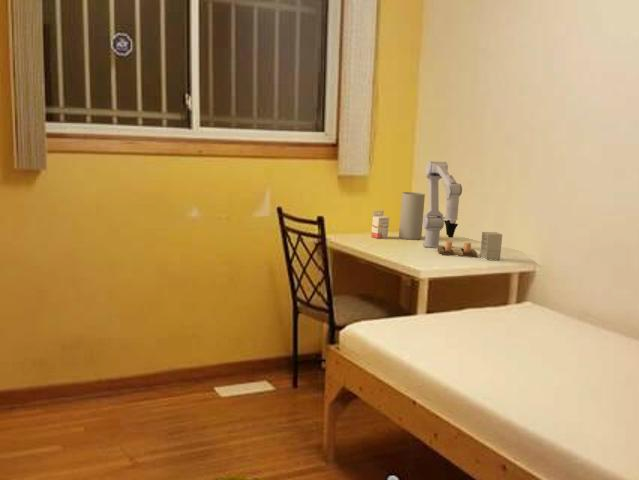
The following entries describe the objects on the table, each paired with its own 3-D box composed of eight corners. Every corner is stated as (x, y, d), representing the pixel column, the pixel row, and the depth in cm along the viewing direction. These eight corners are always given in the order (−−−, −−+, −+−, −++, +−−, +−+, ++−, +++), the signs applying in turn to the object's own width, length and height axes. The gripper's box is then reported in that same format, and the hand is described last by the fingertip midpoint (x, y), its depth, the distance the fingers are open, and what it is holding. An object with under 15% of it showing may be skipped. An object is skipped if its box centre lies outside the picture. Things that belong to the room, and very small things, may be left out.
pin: (462, 254, 332) (464, 242, 331) (469, 255, 332) (470, 243, 331) (463, 256, 329) (464, 243, 328) (470, 256, 329) (471, 244, 328)
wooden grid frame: (437, 250, 340) (437, 246, 340) (473, 253, 339) (473, 249, 339) (439, 254, 328) (439, 250, 328) (476, 257, 327) (477, 253, 327)
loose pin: (444, 253, 333) (445, 241, 332) (451, 254, 332) (452, 242, 331) (444, 254, 330) (445, 242, 329) (451, 255, 329) (452, 243, 328)
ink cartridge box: (377, 238, 368) (379, 212, 366) (370, 237, 372) (372, 210, 370) (388, 237, 374) (390, 211, 372) (381, 236, 378) (383, 210, 375)
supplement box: (493, 257, 330) (496, 231, 328) (500, 260, 323) (502, 234, 321) (479, 257, 329) (481, 231, 327) (485, 260, 321) (488, 233, 319)
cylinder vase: (417, 236, 385) (421, 192, 381) (424, 240, 372) (427, 195, 368) (396, 235, 383) (399, 191, 379) (402, 239, 371) (405, 194, 367)
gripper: (442, 206, 335) (440, 233, 337) (445, 209, 321) (442, 237, 323) (456, 207, 334) (454, 234, 337) (460, 210, 320) (457, 238, 322)
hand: (449, 236), depth 330 cm, fingers open, 7 cm apart
